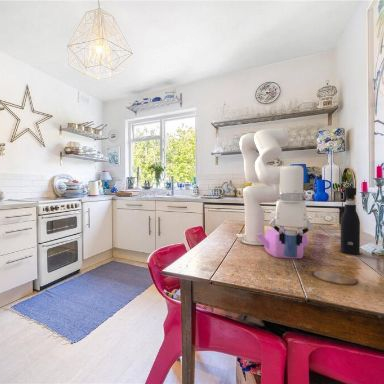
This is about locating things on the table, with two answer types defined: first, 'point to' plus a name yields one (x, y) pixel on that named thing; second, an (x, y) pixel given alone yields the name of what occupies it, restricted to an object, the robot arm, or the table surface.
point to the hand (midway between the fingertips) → (290, 243)
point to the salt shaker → (290, 243)
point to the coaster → (334, 277)
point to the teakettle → (279, 244)
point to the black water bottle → (350, 225)
